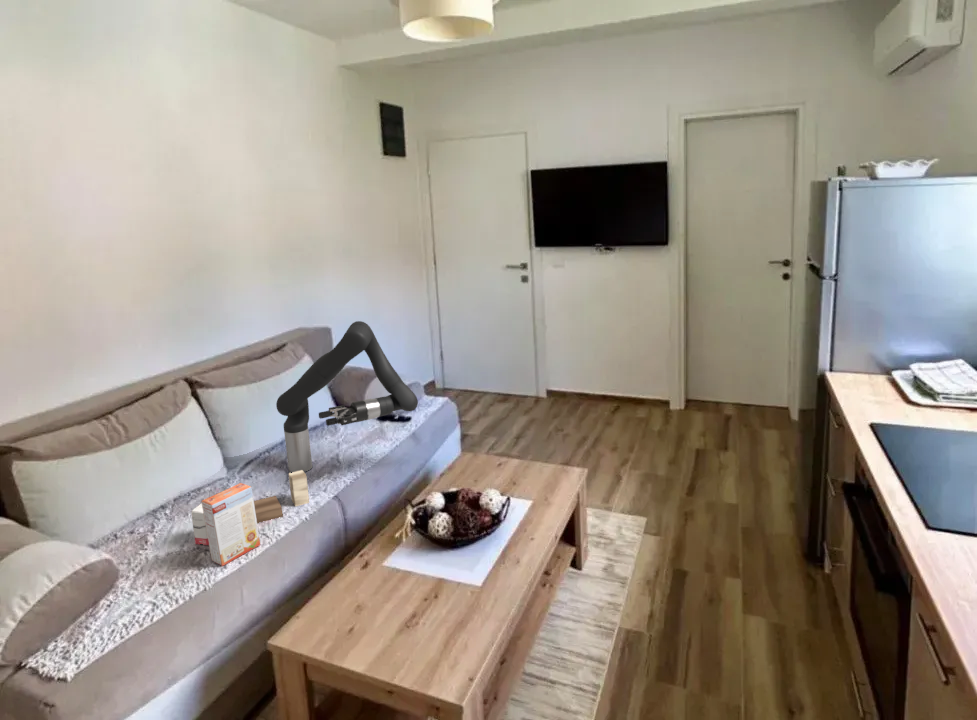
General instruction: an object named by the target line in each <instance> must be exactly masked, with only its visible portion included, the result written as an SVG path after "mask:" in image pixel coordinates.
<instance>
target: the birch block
mask: <svg viewBox="0 0 977 720" xmlns="http://www.w3.org/2000/svg"><path fill="white" fill-rule="evenodd" d="M307 479H308V478H307V474H306V472H304V471H303V470H300V471H296V472H292V473H291V472H289V473H288V482H289V488H290V498H291V502H292V503H294V504H293V505H294V507H299V506H302V505H306V504H309V503H310V495H309V488H308V487H309V486H308V480H307Z"/></svg>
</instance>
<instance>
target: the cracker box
mask: <svg viewBox="0 0 977 720" xmlns="http://www.w3.org/2000/svg"><path fill="white" fill-rule="evenodd" d="M253 493H254V492H253V489H252V486H250V485H248V484H245V483H242V482H239V483H237V484H236V485H233V486H231V487H229V488H226V489H225V490H223V491H220V492H218V493H216V494H213V495H211V496H208V497H207V498H205V499H204V498H203V499H202V500H201V503H202V508H203V513H204V519H205V525H206V530H207V536H208V541H209V545H208V547H209V553H210V557H211V561H212V562H213V561H214V563H215V562H216V563H215V564H218V565H220V566H222V567H223V566H225V565H228V564H229V563H231V562H233V561H235V560H237V559H238V558H239V557H241V556H243V555H245V554H247V553H249V552H250V551H252V550H254V549H255V548H257V547H259V546H261V541H260V534H259V527H258V523H257V519H256V513H255V506H254V501H255V500H254V494H253Z"/></svg>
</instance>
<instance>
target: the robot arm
mask: <svg viewBox="0 0 977 720" xmlns="http://www.w3.org/2000/svg"><path fill="white" fill-rule="evenodd" d="M363 352H365V353H366V355H367V357H368V358H369V360H370V363H371V365H372V369H373V371H374V373H375V376H376V377H377V380H378V381H379V382H380V384H381V385H382V387H383V388H384V389H385V390H386V391H387V393H389V394H388V395H385V396H380V397H375V398H368V399H362V400H357V401H353V402H351V403H350V405H349V407H345V405H344V404H343V405H338V406H332V407H329V408H328V410H325V411H321V412H318V418H319V419H320V420H321V419H325V418H326V419H325V425H326V426H327V427H329V426H333V425H340V426H346V425H350V424H354V423H360V422H364V421H365V422H366V421H369V420H370V421H371V420H374V419H376V418H379V417H385V416H387V415H391V414H392V413H393V412H395V411H400V410H402V411H404V412H413V411H414V410H416V408H417V407H418V405H419V401H418V400H419V399H418V398H417V395H416V394H415V393H414V392H413V390H412V389H411V388H410V387H409V386H408V385H407V384H406V383H405V382H404V381H403V380H402V378H401V376H400V375H399V374H398V372H397V371H396V370H395V369H394V367H393V366H392V364H391V363H390V361H389V359H388V358H387V356H386V354H385V353H384V350H383V349H382V347H381V345H380V343H379V342H378V340H377V338H376V335H375V334H374V331H373V330H372V328H371V326H370V325H369V324H368V323H366V322H365V321H361V320H360V321H359V320H357V321H354V322H352V323H351V325H349V326H348V328H347V330H346V331H345V333H344V334H343V336H342V337H341V339H340V340H339V341H338V343H337V344H336V345H335V346H334V347H333V349H332V350H329V352H326V353H325V354H323V355H321V356H320V357H319V358H318V359H317V360H315V362H314V363H312V365H311V366H309V367H308V369H307V370H306V371H305V372H303V374H302V375H301V376H300V378H298V380H297V381H296V382H295V383H294V384H293V385H292V386H291V387H290V388H288V389H287V390H286V391H284V392H283V393H282V394H280V395H279V396H278V398H277V401H276V404H275V405H276V410H277V412H278V413H279V414H280V415H282V416H285V417H287V418H286V419H285V421H284V423H283V434H284V442H285V449H286V456H287V459H286V460H287V465H288V471H289V473H291V472H296V471H300V470H303V471H304V473H306V472H305V471H307V472H309V471H310V469H311V468H313V461H312V460H313V459H312V452H311V451H312V449H311V441H310V433H309V432H310V431H309V421H310V409H309V407H310V406H309V398H310V397H311V396H313V395H315V394H317V393H318V392H319V391H321V390H322V389H323V388H325V387H326V386H327V385H329V384H330V383H331V382H332V381H333V380H334V379H335V378H336V377H337V375H339V373H341V371H342V370H343V368H345V366H346V365H347V364H348V363H350V362H351V360H353V359H354V358H356V357H357V356H358V355H360V354H362V353H363ZM308 470H309V471H308ZM311 470H312V469H311Z"/></svg>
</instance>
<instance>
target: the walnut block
mask: <svg viewBox="0 0 977 720" xmlns="http://www.w3.org/2000/svg"><path fill="white" fill-rule="evenodd" d="M254 506H255V513H256V519H257V524H260V523H259V522H261V523H264V522H263V521H265V522H268V521H271V519H272V520H275V518H276V519H279V517H280V518H282V517H284V516H283V508H282V505H281V503H280V501H279V499H278V497H277V495H273V496H269V497H263V498H261V499H256V500H254Z"/></svg>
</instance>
